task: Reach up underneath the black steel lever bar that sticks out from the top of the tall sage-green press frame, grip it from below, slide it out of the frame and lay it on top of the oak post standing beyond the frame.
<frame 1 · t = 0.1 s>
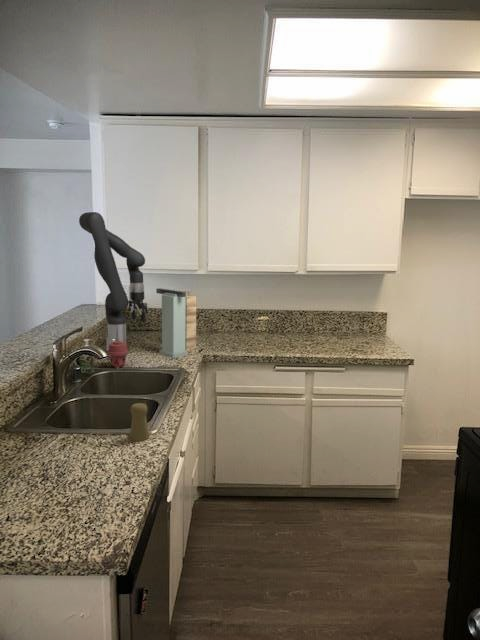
hand: (138, 320, 261), 17 cm above the counter, tool pointing down, fingers open, 8 cm apart
cork: (139, 438, 152), on the counter
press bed: (185, 348, 276), on the counter
press frame: (173, 354, 260), on the counter
mechanical component: (118, 367, 233), on the counter
lever bar: (170, 294, 257), point 32 cm above the counter, touching press frame
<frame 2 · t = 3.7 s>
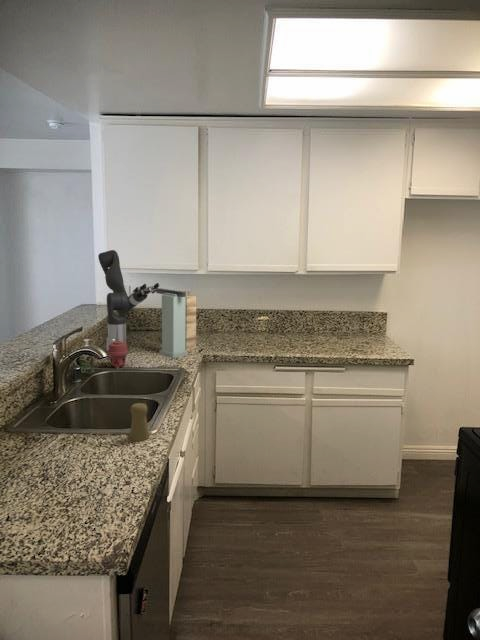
hand: (152, 284, 272), 35 cm above the counter, tool pointing upward, fingers open, 8 cm apart
nothing on the counter moved.
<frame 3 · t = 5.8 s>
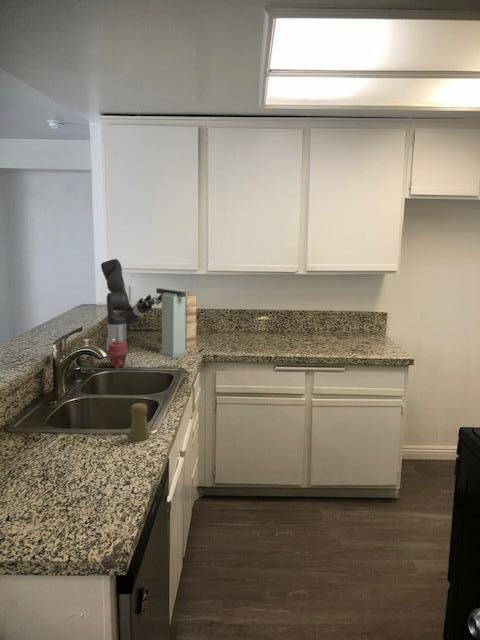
hand: (156, 295, 265), 30 cm above the counter, tool pointing upward, fingers open, 8 cm apart
nothing on the counter moved.
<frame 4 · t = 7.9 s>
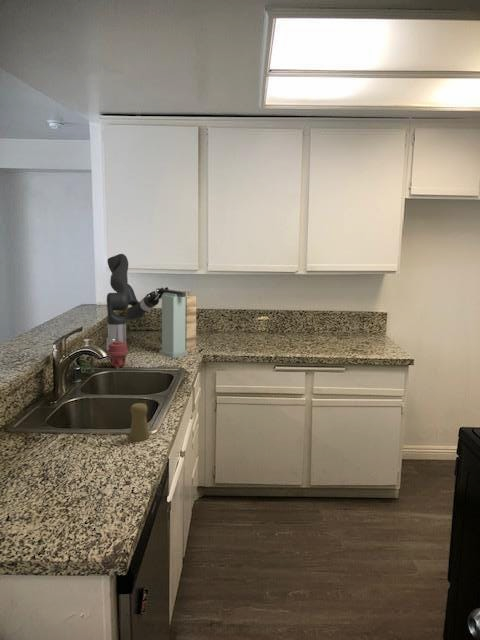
hand: (165, 289, 259), 35 cm above the counter, tool pointing upward, fingers closed on lever bar, 2 cm apart
lever bar: (170, 294, 256), point 32 cm above the counter, touching gripper, press frame
everything else where it was.
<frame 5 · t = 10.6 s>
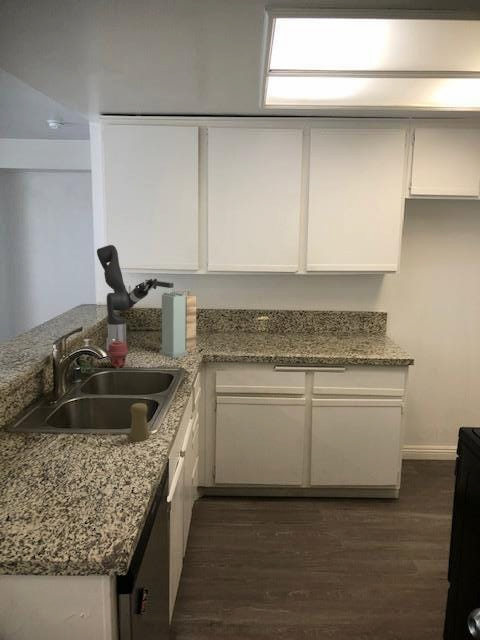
hand: (154, 280, 265), 39 cm above the counter, tool pointing upward, fingers closed on lever bar, 2 cm apart
lever bar: (159, 286, 263), point 36 cm above the counter, touching gripper
everything else where it was.
when the fingers open (34 cm above the counter, at t = 13.2 s): lever bar stays where it is, resting on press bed.
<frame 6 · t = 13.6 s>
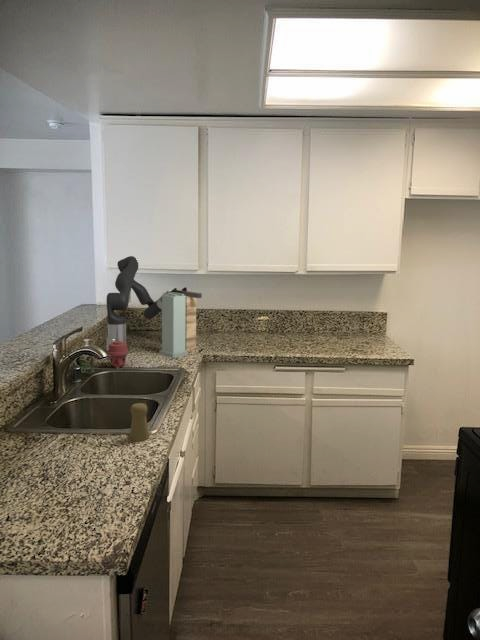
hand: (181, 289, 273), 33 cm above the counter, tool pointing upward, fingers open, 6 cm apart
lever bar: (186, 296, 270), point 30 cm above the counter, touching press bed
everything else where it was.
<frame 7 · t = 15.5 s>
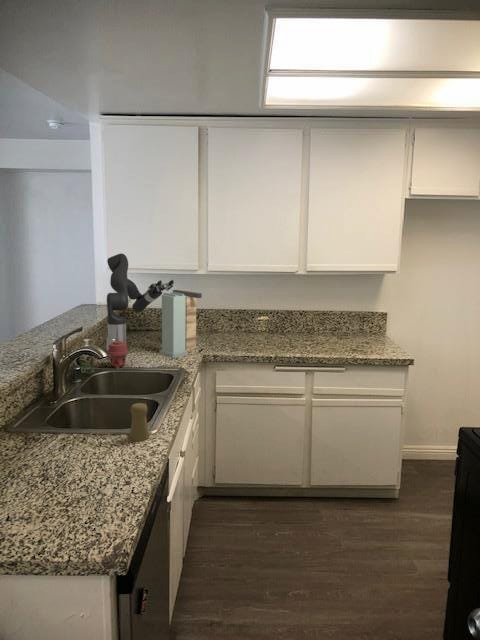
hand: (167, 281, 280), 37 cm above the counter, tool pointing upward, fingers open, 8 cm apart
nothing on the counter moved.
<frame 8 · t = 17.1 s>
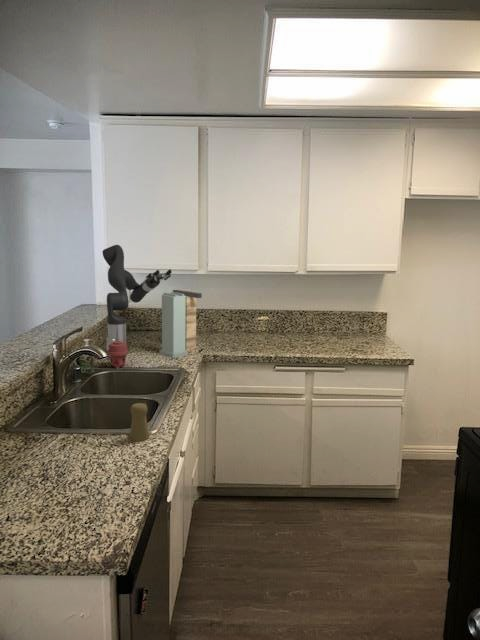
hand: (164, 271, 277), 43 cm above the counter, tool pointing upward, fingers open, 8 cm apart
nothing on the counter moved.
at the end: lever bar inside the target area on the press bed (0.1 cm from its centre), point 30.0 cm above the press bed's base; lever bar touching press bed; the gripper is holding nothing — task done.
